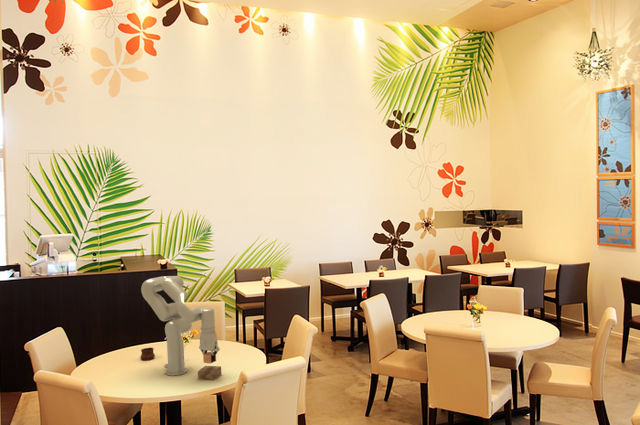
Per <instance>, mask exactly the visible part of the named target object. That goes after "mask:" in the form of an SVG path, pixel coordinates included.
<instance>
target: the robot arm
mask: <svg viewBox="0 0 640 425" xmlns="http://www.w3.org/2000/svg"><path fill="white" fill-rule="evenodd" d="M184 284H185V283H184V280H183V278H182V277H181V276H178V275H166V276H164V275H163V276H158V277H153V278H148V279H146V280H144V282H143V283H142V285H141V288H140V291H141V294H142V295H141V296H142V297H143V299H144V300H145V301H146V302H147V303H148V305H149V306H150V307H151V308H152V310H153V312H154V313H155V315H156V316H157V317H158V319H159V320H160V321H162V322H166V324H165V327H164V332H165V336H166V337H165V338H166V347H167V348H166V349H167V350H166V351H167V352H166V353H167V363H165V365H164V366H163V368H165V369H166V370H165V375H167V376H180V375H184V374H186V373H187V372H188V368H187V367H185V344H184V338H183V337H182V334H185V333H187V332H189V331H190V330H191V329H192V327H193V326H192V325H193V323H196V322H198V321H200V322H201V327H200V330H201V332H200V336H199V347H198V349H199V350H200V352H201V353H202V355H203V354H205V353H207V352H211V353H212V356H211V361H212V363H211V364H213V363H214V362H217V354H218V352H219V351H220V350H221V349H220V347H219V344H218V336H217V332H216V322H215V321H216V320H215V318H216V317H215V309H213V308H212V307H204V306H198V307H193V308H191V309H190V308H189V307H188V306H187V304H186V303H185V300H186V299H187V296H188V293H187V291H186V290H185V289H184V288H183V287H184ZM161 291H164V292H165V293H166V294H167V295H168V297H169V298H171V300H173V302H170V303H167V301H166V300H165V298H164V297H162V295H161V294H159V293H157V292H161Z"/></svg>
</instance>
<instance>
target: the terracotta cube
mask: <svg viewBox="0 0 640 425" xmlns="http://www.w3.org/2000/svg"><path fill="white" fill-rule="evenodd" d="M202 356H203V363H204V364H213V363H212V361H211V356H212V353H211V351H207V353H205V354H202Z"/></svg>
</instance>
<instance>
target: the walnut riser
mask: <svg viewBox="0 0 640 425" xmlns="http://www.w3.org/2000/svg"><path fill="white" fill-rule="evenodd" d="M220 376H222V366H220V365H219V366H218V365H204V366H203V367H201V368H200V369H199V370H197V379H198V380H201V381H203V380H206V381H207V380H208V381H215V380H216V379H218V378H219V377H220Z"/></svg>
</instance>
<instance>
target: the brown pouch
mask: <svg viewBox="0 0 640 425" xmlns="http://www.w3.org/2000/svg"><path fill="white" fill-rule="evenodd" d="M140 352H141V355H140V360H141V361H143V362H146V361H148V362H149V361H152V360H154V359H155V356H156V355H155V353H154V347H145V348H141V349H140Z"/></svg>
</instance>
